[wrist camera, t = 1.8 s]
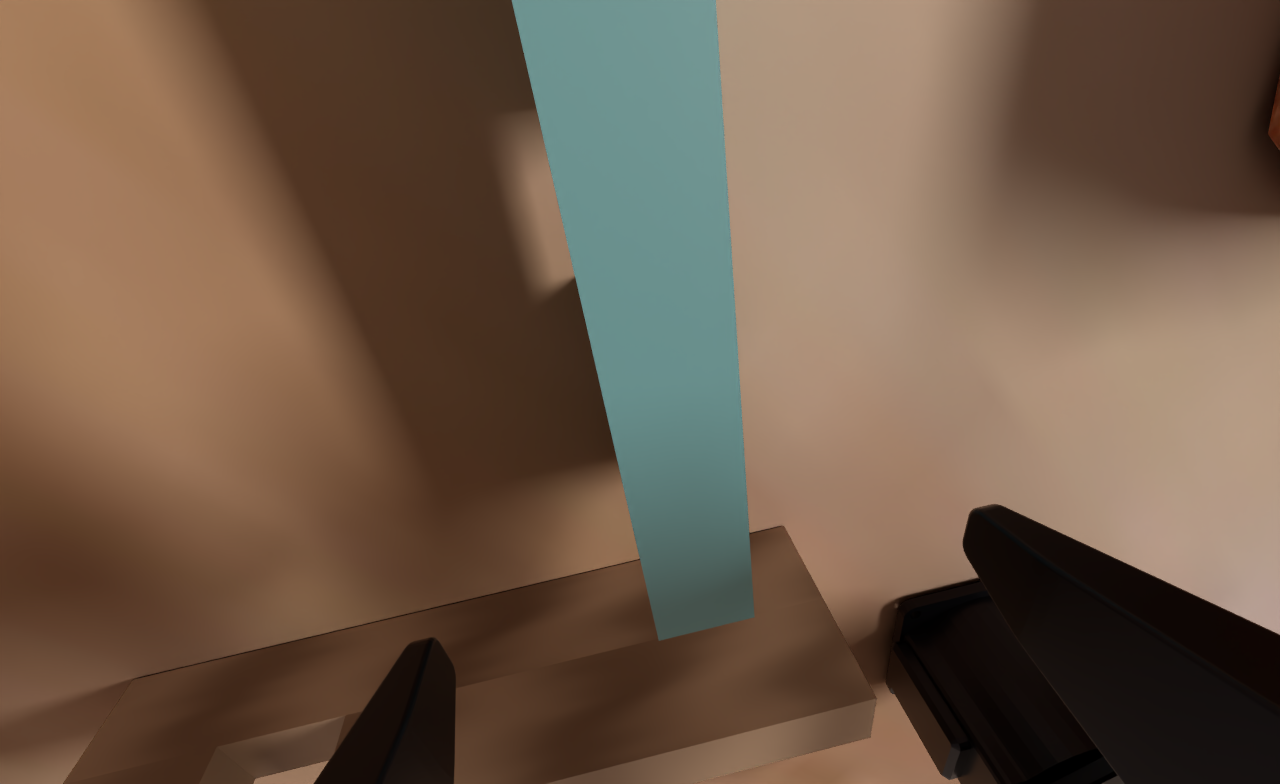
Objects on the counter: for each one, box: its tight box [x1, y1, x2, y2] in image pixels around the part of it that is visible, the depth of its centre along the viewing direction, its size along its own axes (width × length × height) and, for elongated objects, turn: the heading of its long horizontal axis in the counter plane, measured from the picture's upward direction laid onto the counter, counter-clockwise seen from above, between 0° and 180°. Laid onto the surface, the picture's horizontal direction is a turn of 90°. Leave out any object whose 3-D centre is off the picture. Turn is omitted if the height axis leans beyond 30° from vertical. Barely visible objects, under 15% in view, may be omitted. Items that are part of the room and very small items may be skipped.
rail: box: [63, 526, 877, 784], centre depth 16 cm, size 22×2×6 cm, turn 99°
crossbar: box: [512, 0, 755, 641], centre depth 9 cm, size 15×2×6 cm, turn 9°
